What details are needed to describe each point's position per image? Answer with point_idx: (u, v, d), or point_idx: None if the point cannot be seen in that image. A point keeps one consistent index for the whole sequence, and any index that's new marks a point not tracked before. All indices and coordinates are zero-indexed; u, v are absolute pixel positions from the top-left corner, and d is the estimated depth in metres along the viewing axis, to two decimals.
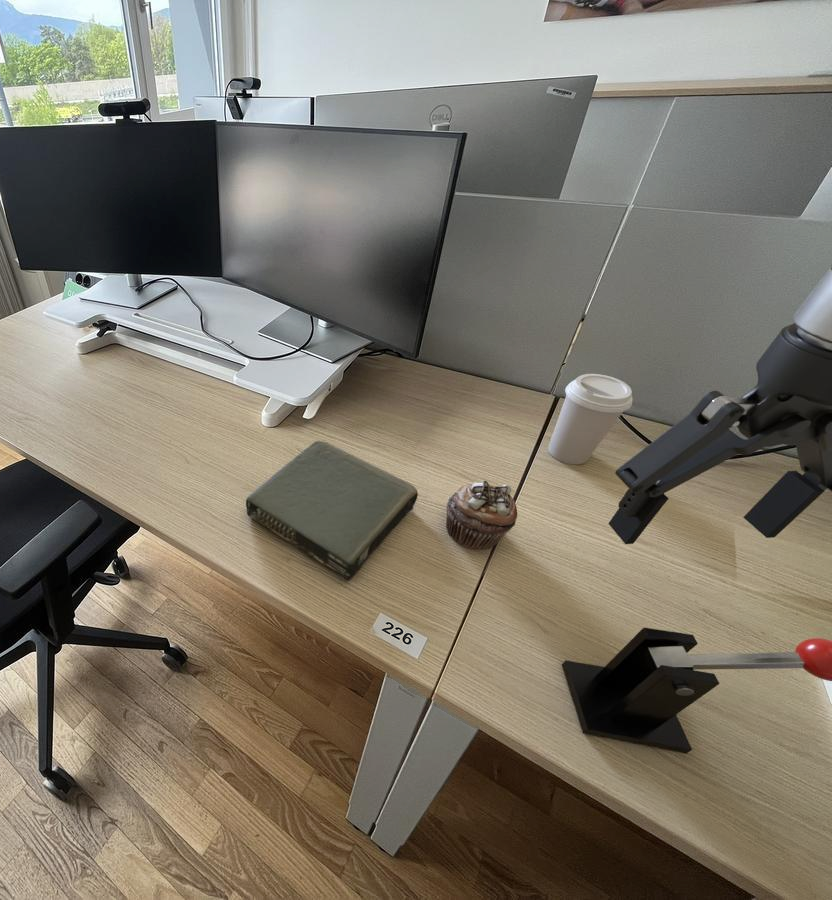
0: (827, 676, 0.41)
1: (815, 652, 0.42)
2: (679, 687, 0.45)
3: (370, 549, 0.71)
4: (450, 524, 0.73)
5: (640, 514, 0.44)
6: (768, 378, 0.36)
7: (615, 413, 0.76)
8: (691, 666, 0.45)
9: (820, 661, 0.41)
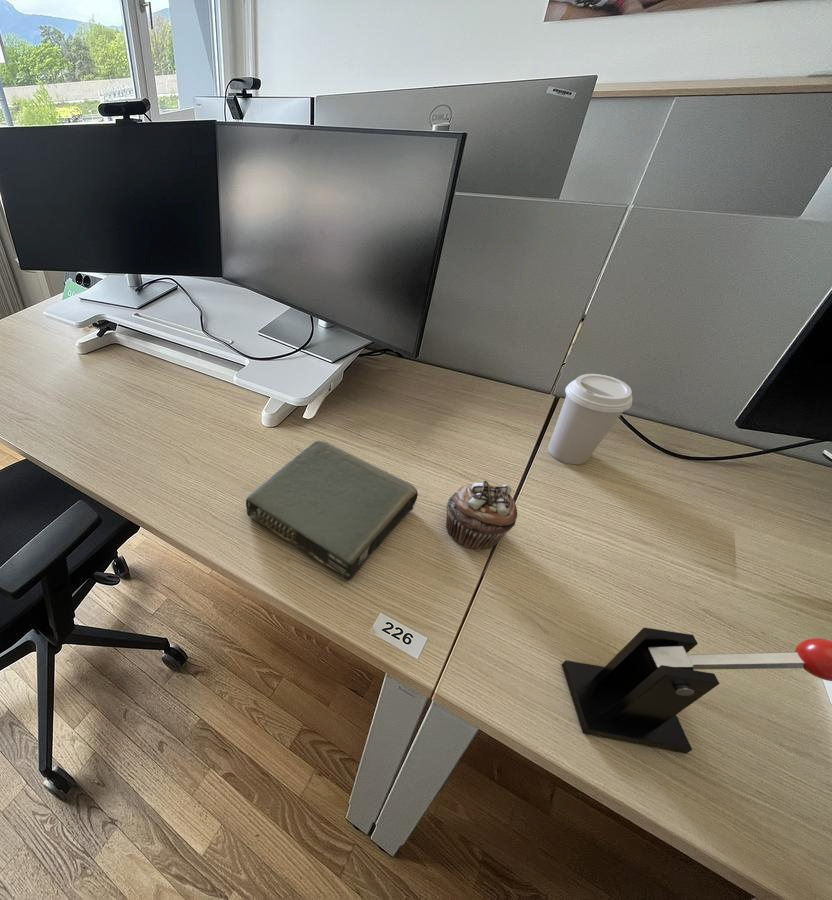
0: (827, 676, 0.41)
1: (815, 652, 0.42)
2: (679, 687, 0.45)
3: (370, 549, 0.71)
4: (450, 524, 0.73)
5: None
6: None
7: (615, 413, 0.76)
8: (691, 666, 0.45)
9: (820, 661, 0.41)
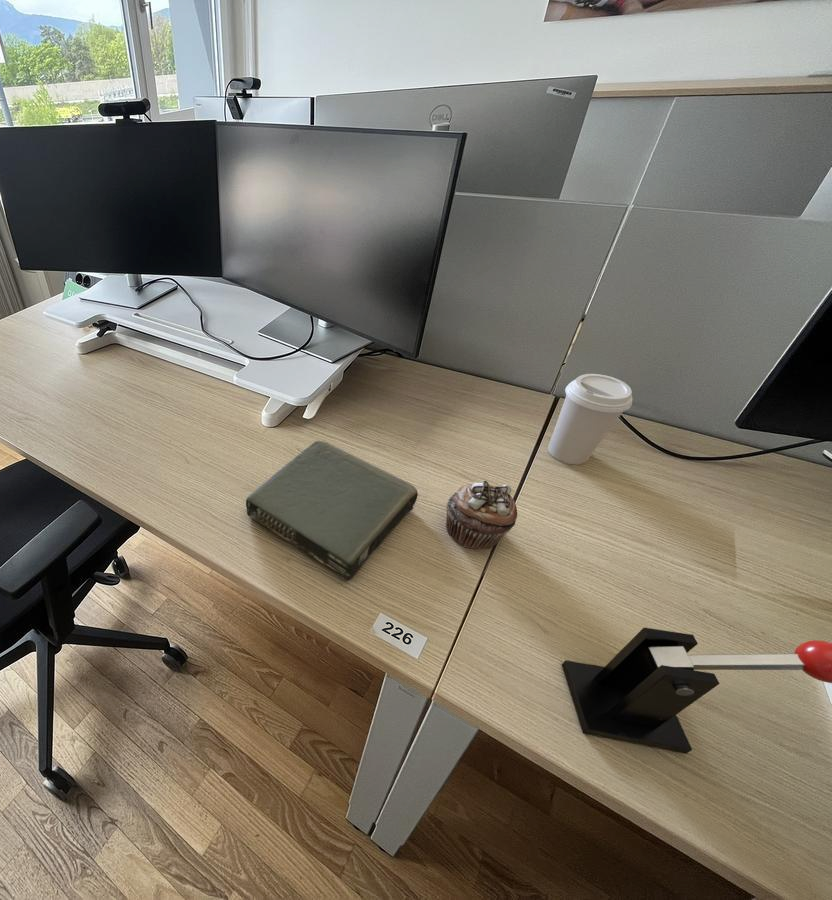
0: (826, 678, 0.41)
1: (815, 654, 0.42)
2: (679, 687, 0.45)
3: (370, 549, 0.71)
4: (450, 524, 0.73)
5: None
6: None
7: (615, 413, 0.76)
8: (691, 666, 0.45)
9: (820, 663, 0.41)
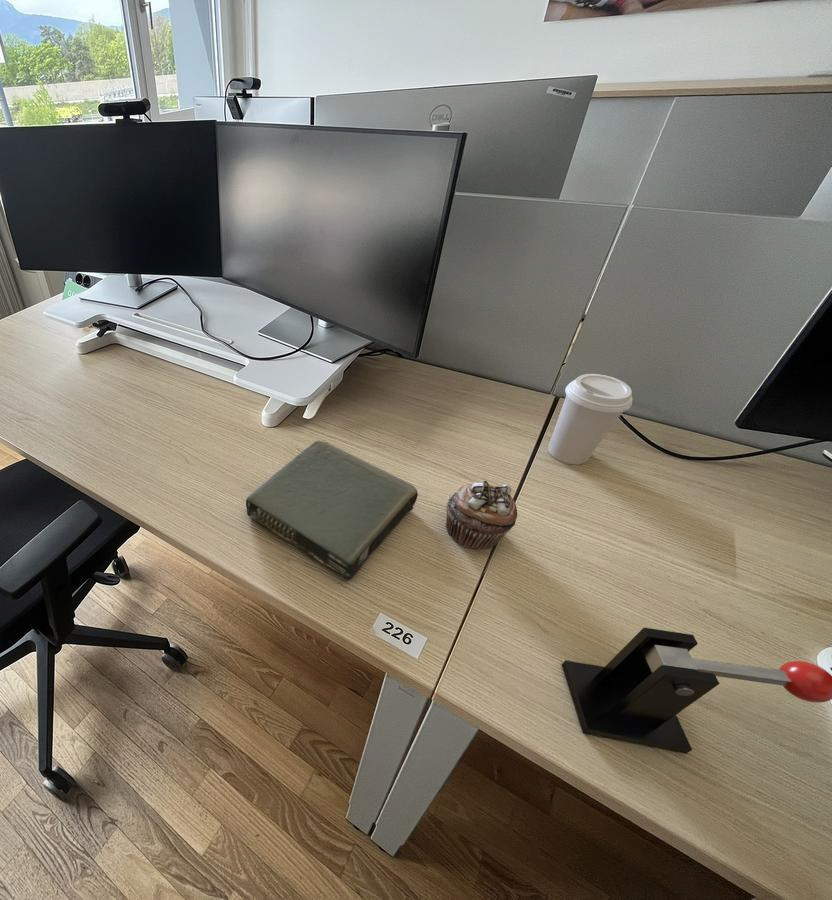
0: (809, 696, 0.43)
1: (806, 673, 0.44)
2: (679, 687, 0.45)
3: (370, 549, 0.71)
4: (450, 524, 0.73)
5: None
6: None
7: (615, 413, 0.76)
8: (696, 669, 0.45)
9: (810, 682, 0.43)
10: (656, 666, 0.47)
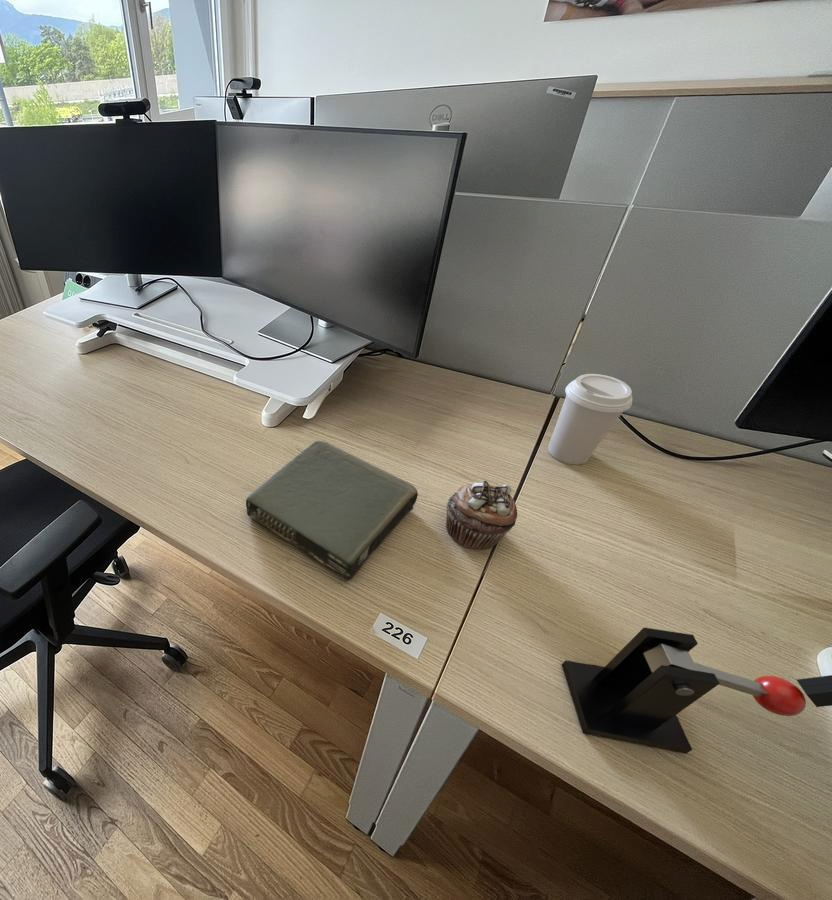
0: (782, 709, 0.45)
1: (784, 688, 0.46)
2: (679, 687, 0.45)
3: (370, 549, 0.71)
4: (450, 524, 0.73)
5: None
6: None
7: (615, 413, 0.76)
8: None
9: (786, 696, 0.45)
10: (659, 664, 0.47)
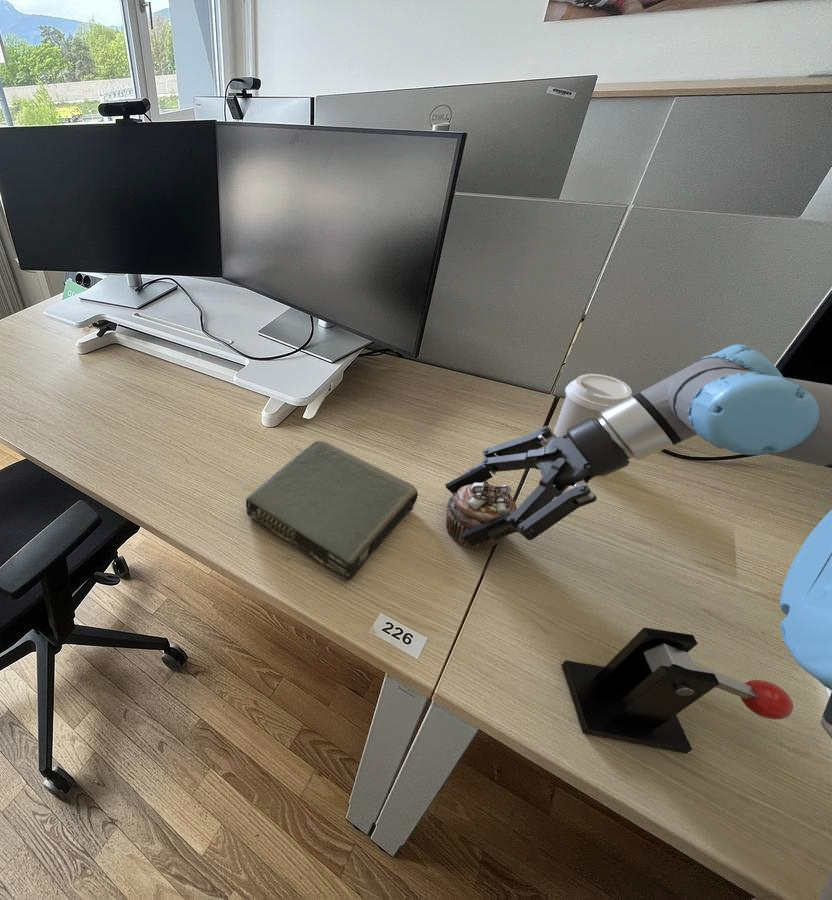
0: (770, 713, 0.46)
1: (774, 692, 0.46)
2: (679, 687, 0.45)
3: (370, 549, 0.71)
4: (450, 524, 0.73)
5: None
6: None
7: None
8: None
9: (776, 700, 0.46)
10: (660, 664, 0.47)
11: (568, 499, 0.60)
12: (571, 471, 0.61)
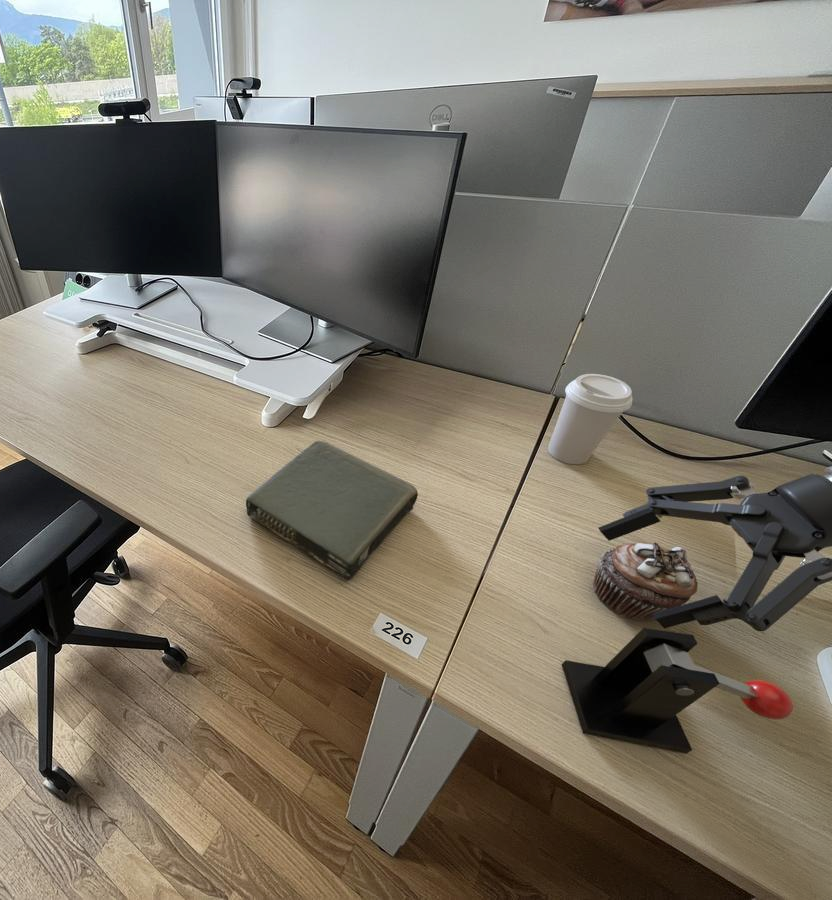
0: (770, 713, 0.46)
1: (774, 692, 0.46)
2: (679, 687, 0.45)
3: (370, 549, 0.71)
4: (605, 590, 0.63)
5: None
6: None
7: (615, 413, 0.76)
8: None
9: (776, 700, 0.46)
10: (660, 664, 0.47)
11: (810, 577, 0.48)
12: (793, 540, 0.51)
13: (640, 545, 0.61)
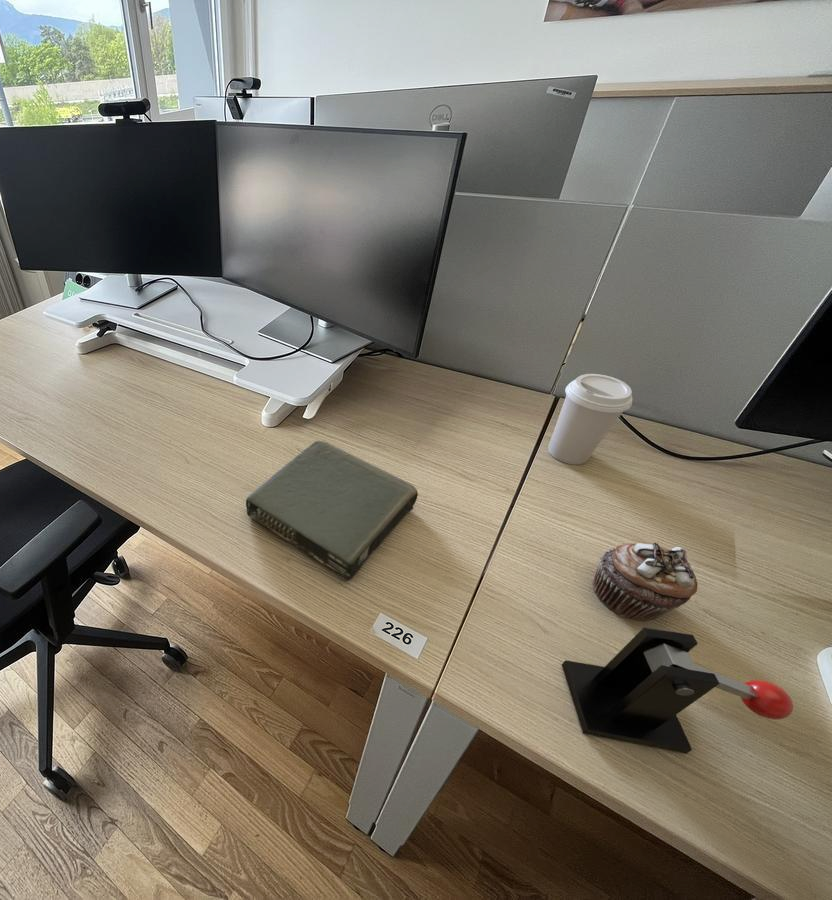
0: (770, 713, 0.46)
1: (774, 692, 0.46)
2: (679, 687, 0.45)
3: (370, 549, 0.71)
4: (605, 590, 0.63)
5: None
6: None
7: (615, 413, 0.76)
8: None
9: (776, 700, 0.46)
10: (660, 664, 0.47)
11: None
12: None
13: (640, 545, 0.61)
